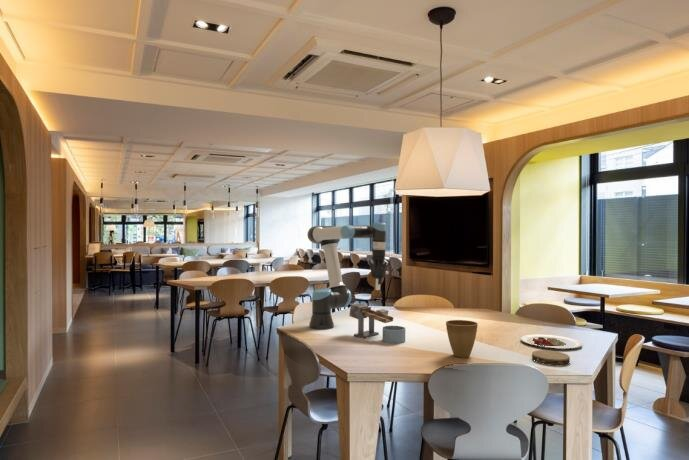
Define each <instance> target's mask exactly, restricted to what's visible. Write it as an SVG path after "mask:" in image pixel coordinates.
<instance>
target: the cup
mask: <svg viewBox="0 0 689 460" xmlns="http://www.w3.org/2000/svg"><path fill="white" fill-rule="evenodd" d="M382 342H384V343H386V344H394V345H395V344H404V343H406V327H404V326H400V325H385V326H383V327H382Z"/></svg>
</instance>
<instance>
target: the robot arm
mask: <svg viewBox="0 0 689 460" xmlns="http://www.w3.org/2000/svg"><path fill="white" fill-rule="evenodd" d="M386 234H387V224H386V223H385V222H373V223H372V225H350V224H345V225H342V226H341V225H340V226H339V225H338V226H334V225H333V226H331V225H314V226H311V227H309V229H308V230H307V238H308V240H309V242H311V243H312V244H319V245H320V248H321V249H323V253H324V259H325V260H324V261H325V265H326V266H325V267H326V270H327V275H328V276H327V277H328V282H329V286H328V287H325V288H316V289H315V290H313V291H312V294H311V295H312V297H311V300H312V301H311V302H312V303H311V305H312V308H311V310H312V311H311V313H312V314H311V317H310V320H309V328H310V329H314V330H328V329H332V328H334V326H335V323H334V321H333V318H332V310H333V309H341V308H346V307H348V306H349V305H350V303H351V301H352V293H351V290H350V289H348V288H347V285H346V284H345V283H344V282H343V276H342V271H341V264H340V260H339V254H338V253H339V252H338V246H339V243H340V241H341V240H345V239H371V240H372V250H371V251H372V252H371V253H372V258H371V259H370V260H368V263H369V267H370V273H371V277H372V278H373V279H374V284H375V291H381V285H382V279H384V278H385V277H386V272H387V268H388V265H389V263H390V262H389V261H387V260H386V247H387V246H386V243H387V242H386V239H387V237H386V236H387V235H386Z"/></svg>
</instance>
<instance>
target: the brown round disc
mask: <svg viewBox="0 0 689 460" xmlns="http://www.w3.org/2000/svg"><path fill="white" fill-rule="evenodd" d="M570 358H571V357H570V355H569V354H567V353H564V352H560V351H555V350H549V349H548V350H546V349H545V350H544V349H543V350H542V349H541V350H540V349H539V350H534V351H532V353H531V360H532V361H534V360H535V361H534V362H536V361H537V362H536V363H538V362H540V363H539V364H542V363H544V364H543V365H547V364H551V365H550V366H556V365H562V366H566V365H565V364H568V363H569V362H570V361H571V359H570ZM569 364H570V363H569ZM569 364H568V365H569Z"/></svg>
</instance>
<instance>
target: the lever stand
mask: <svg viewBox="0 0 689 460" xmlns="http://www.w3.org/2000/svg"><path fill="white" fill-rule="evenodd" d="M364 320H365V318H364V313H358V319H357V321H358V322H357V323H358V324H357V333H354V334H353V337H355V338H361V339H369V338H371V337H375V336H379V335H380V334H379V332H377V331H375V319H372V318H369V317H368V330H365V329H364V328H365V326H364V325H365V324H364V322H365V321H364Z"/></svg>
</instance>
